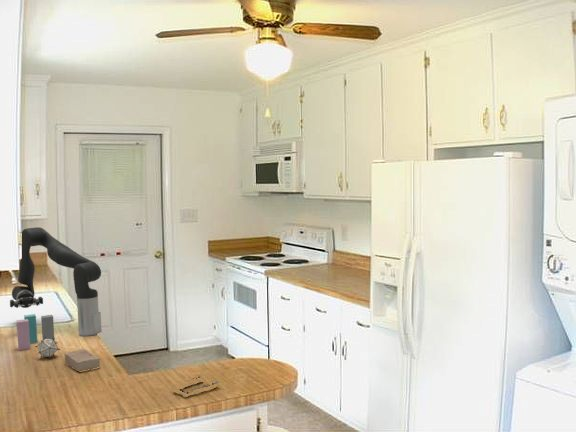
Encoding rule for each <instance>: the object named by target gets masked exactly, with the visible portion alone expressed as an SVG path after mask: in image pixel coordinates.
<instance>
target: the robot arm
mask: <svg viewBox="0 0 576 432" xmlns="http://www.w3.org/2000/svg"><path fill="white" fill-rule="evenodd" d="M21 232H22V259H21V261H19V262H20V263H19V272H18V279H17V281H18V283H20V284H21V285H16V286H14V287H13V289H12V291H11V297H12V299H10V300H9V307H10V308H13V307H14V308H16V309H18V308H23V309H27V308H28V309H29V308H30V307H32V306H35V305H36V306H37V307H38V306H40V305H43V304H44V297H42V296H38V298H37V297H35V289H34V276H35V272H36V271H35V270H36V268H35V263H34V261H33V259H32V258H31V253H30V250H31V248H32V247H36V246H41V247H44V248H45V249H46V253H47V257H48V258H49V259H50V260H52V261H53V262H54V263H55V264H57V265H60V266H62V267H66V268H68V269H69V268H70V269H73V272H72V275H73V283H74V291H75V295H76V302H77V303H76V305H77V320H78V321H77V322H78V326H77V327H78V335H79V336H83V337H87V336H88V337H89V336H96V335H98V334H100V333H103V332H102V330H103V329H102V315H101V314H102V313H101V311H100V310H99V296H98V295H99V292H98V290H97V289H94V288H91V287H90V284H89V283H91V282H95V281H98V280H99V279H100V278H101V276H102V270H101V267H100V266H99V264H98V263H96V262H95V261H93V260H91V259H89V258H86V257H84V256H82V255H81V254H80V253H77V252H76V251H74V250H73V249H71V248H70V247H69V246H67V245H66V244H64V243H62V242H61V241H59V240H58V239H57V238H55V237H54V236H52V235H51V234H50V233H49V232H48V231H47V230H46V229H44V228H43V227H28V228H24V229H22V231H21ZM22 285H23V286H22Z"/></svg>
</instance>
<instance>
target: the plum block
mask: <svg viewBox="0 0 576 432" xmlns="http://www.w3.org/2000/svg"><path fill="white" fill-rule="evenodd" d="M16 332H17V333H16V334H17V347H18V351H24V350H30V349H31V344H30V335H29V321H28V319H25V320H24V319H18V320H16Z"/></svg>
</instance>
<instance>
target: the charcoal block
mask: <svg viewBox="0 0 576 432" xmlns="http://www.w3.org/2000/svg"><path fill="white" fill-rule="evenodd" d="M40 319H41V335H42V336H41V338H42V341H43V340H44V339H45V337H46V339H54V338H55V328H54V327H55V325H54V316H53V314H47V315H41V317H40ZM54 341H55V342H56V340H55V339H54Z"/></svg>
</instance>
